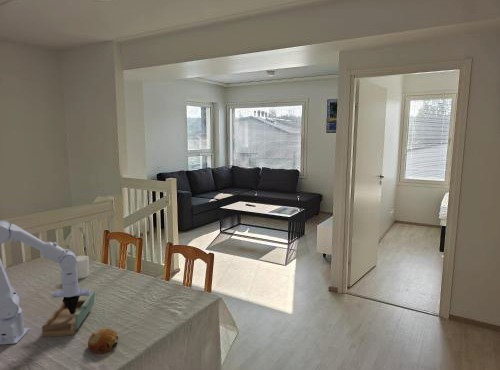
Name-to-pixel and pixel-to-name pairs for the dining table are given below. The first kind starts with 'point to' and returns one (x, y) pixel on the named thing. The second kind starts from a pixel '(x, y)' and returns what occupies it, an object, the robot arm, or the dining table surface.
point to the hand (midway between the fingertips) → (73, 312)
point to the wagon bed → (61, 321)
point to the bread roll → (103, 340)
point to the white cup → (82, 266)
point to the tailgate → (84, 310)
